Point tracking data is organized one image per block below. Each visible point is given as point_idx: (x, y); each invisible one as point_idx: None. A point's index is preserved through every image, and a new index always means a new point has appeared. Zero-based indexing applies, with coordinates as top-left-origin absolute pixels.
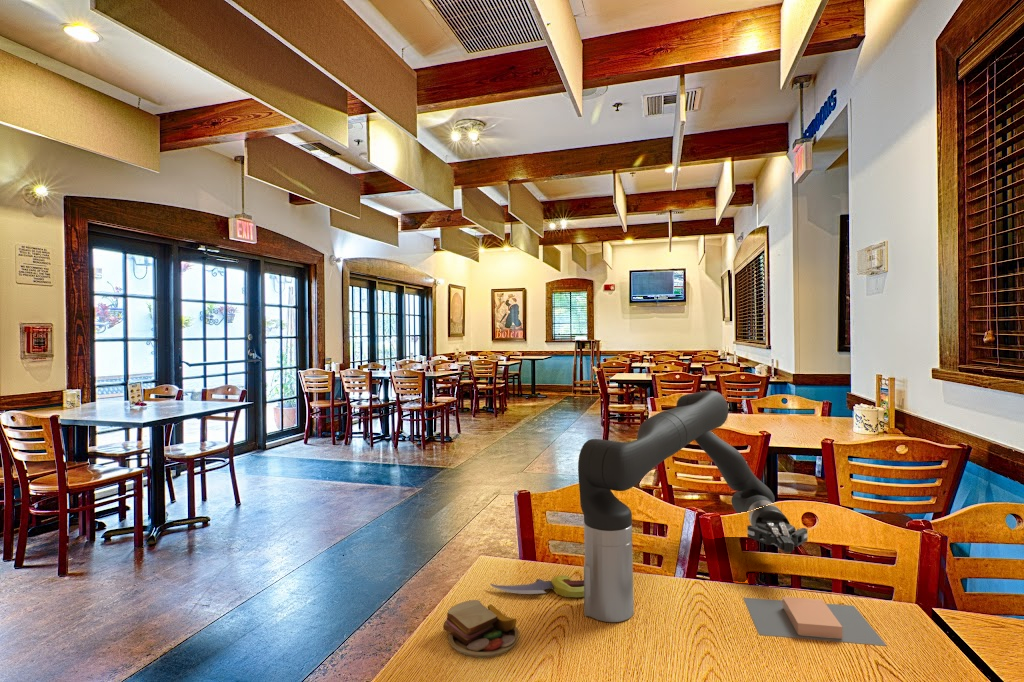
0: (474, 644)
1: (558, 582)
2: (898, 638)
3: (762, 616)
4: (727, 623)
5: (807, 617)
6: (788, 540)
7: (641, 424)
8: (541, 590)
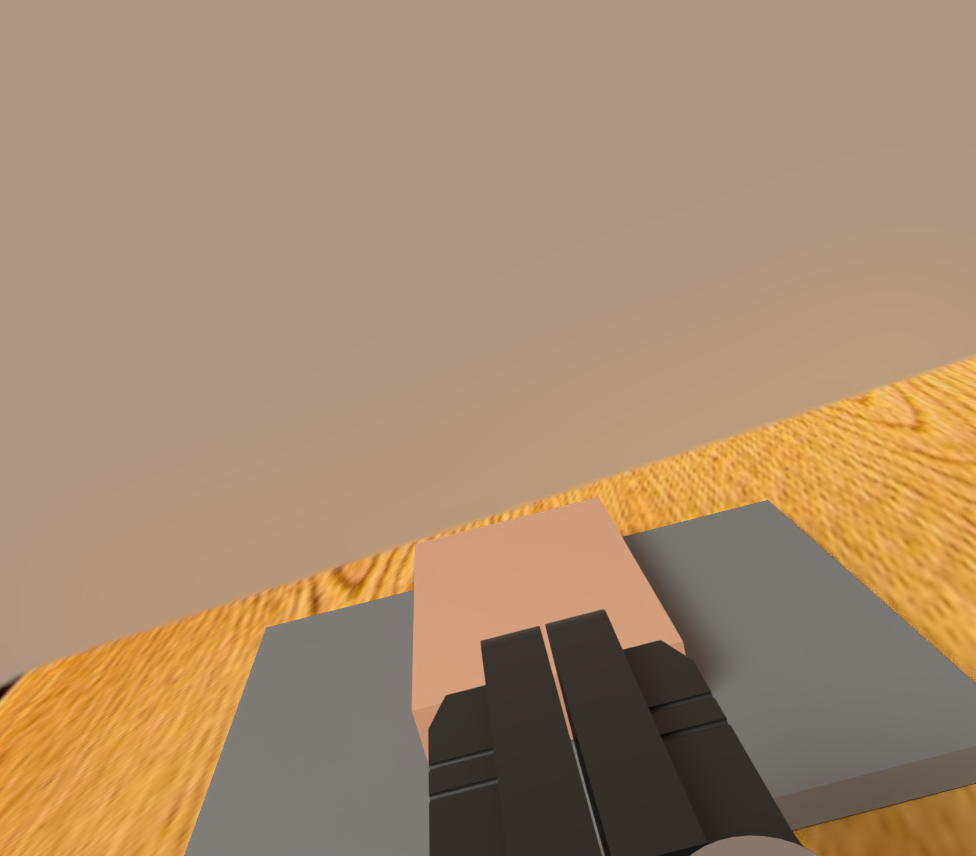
0: None
1: None
2: (138, 759)
3: (794, 596)
4: (964, 552)
5: (551, 538)
6: (514, 680)
7: None
8: None
